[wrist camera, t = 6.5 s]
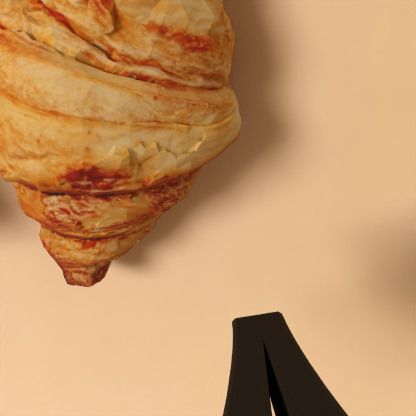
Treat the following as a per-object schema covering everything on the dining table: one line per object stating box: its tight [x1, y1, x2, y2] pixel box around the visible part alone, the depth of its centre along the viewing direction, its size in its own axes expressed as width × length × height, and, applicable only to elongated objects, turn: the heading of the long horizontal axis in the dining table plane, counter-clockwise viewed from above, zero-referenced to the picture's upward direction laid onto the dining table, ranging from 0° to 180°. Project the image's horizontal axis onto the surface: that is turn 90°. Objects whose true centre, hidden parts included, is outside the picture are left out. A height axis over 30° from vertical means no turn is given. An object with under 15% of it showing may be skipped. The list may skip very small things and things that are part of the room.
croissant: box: [0, 0, 242, 287], centre depth 15 cm, size 21×10×8 cm, turn 164°
